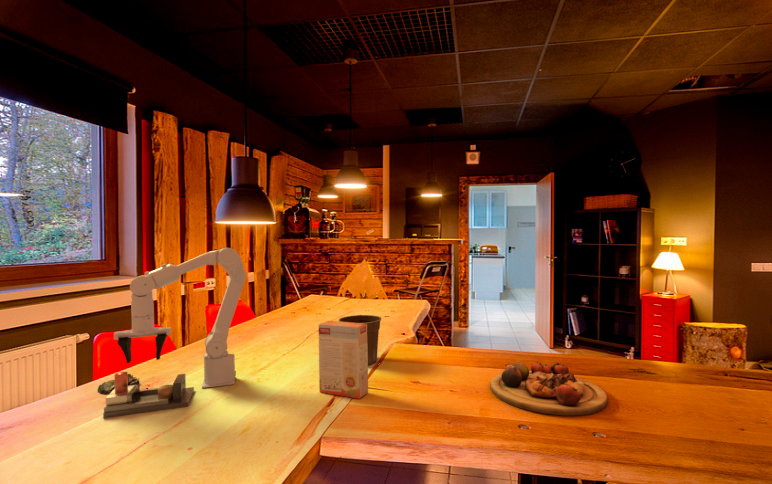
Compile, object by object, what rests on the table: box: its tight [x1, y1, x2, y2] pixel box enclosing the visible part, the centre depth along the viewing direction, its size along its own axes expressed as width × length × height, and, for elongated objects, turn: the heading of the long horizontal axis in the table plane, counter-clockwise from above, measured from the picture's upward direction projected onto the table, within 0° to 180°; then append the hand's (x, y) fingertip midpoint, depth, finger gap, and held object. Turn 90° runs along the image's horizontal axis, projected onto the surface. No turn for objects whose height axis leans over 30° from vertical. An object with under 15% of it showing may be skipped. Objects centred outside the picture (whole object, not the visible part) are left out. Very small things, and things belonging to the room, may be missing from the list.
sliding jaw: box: [105, 371, 141, 407], centre depth 109 cm, size 6×8×8 cm
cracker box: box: [318, 320, 369, 400], centre depth 117 cm, size 14×6×21 cm, turn 65°
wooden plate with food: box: [489, 360, 609, 416], centre depth 115 cm, size 32×32×8 cm
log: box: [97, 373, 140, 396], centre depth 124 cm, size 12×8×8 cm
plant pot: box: [338, 314, 382, 365], centre depth 148 cm, size 16×16×16 cm
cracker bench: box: [102, 373, 195, 419], centre depth 111 cm, size 20×12×6 cm, turn 109°
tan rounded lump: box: [157, 384, 173, 400], centre depth 112 cm, size 4×4×3 cm
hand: (143, 360), depth 118 cm, fingers open, 7 cm apart
